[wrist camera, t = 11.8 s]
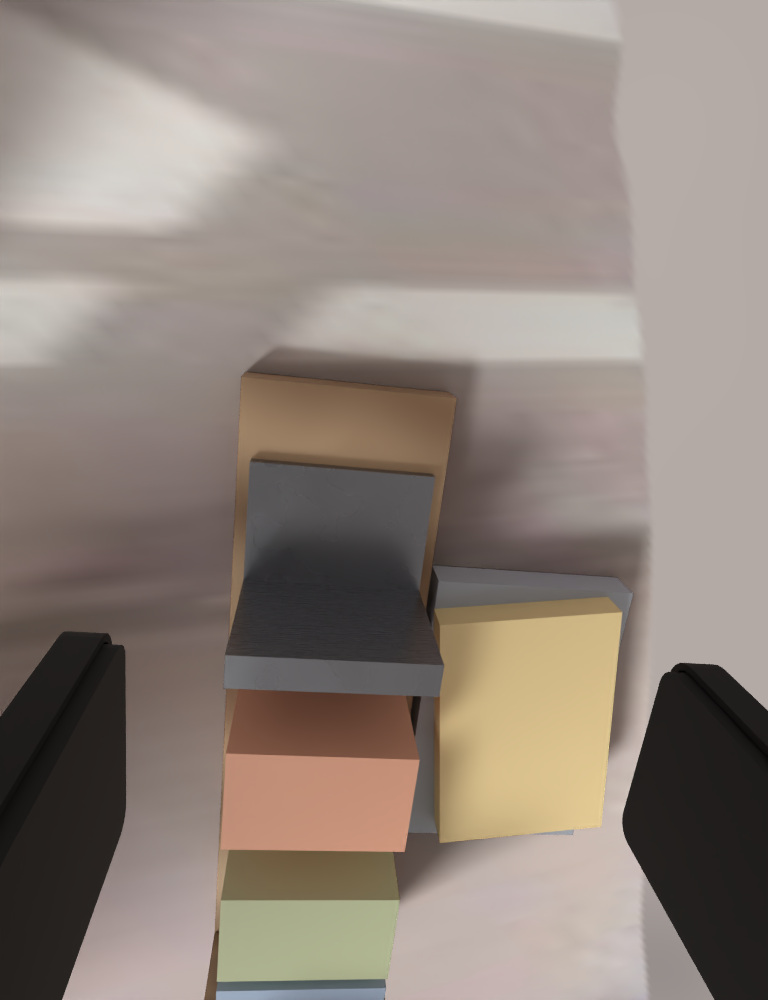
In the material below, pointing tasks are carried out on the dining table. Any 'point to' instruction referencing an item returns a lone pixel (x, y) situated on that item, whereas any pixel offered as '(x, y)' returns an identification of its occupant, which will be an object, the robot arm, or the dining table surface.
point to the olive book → (307, 915)
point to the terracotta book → (319, 772)
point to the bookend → (334, 583)
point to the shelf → (331, 441)
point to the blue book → (303, 990)
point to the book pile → (517, 703)
